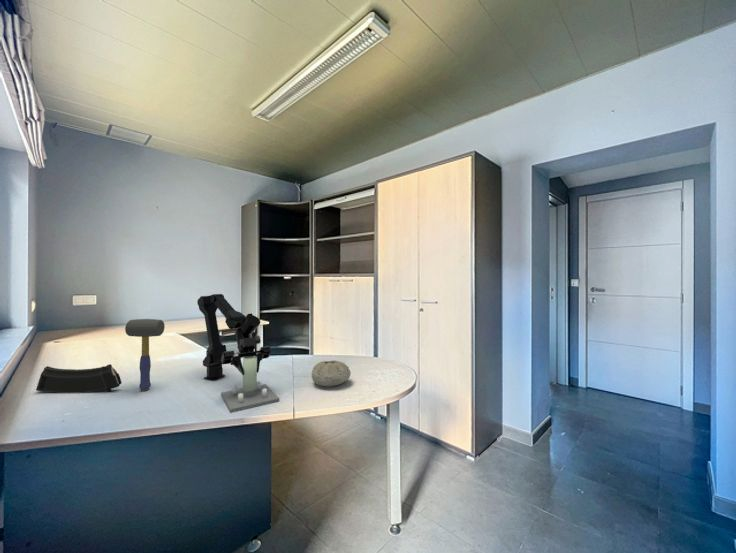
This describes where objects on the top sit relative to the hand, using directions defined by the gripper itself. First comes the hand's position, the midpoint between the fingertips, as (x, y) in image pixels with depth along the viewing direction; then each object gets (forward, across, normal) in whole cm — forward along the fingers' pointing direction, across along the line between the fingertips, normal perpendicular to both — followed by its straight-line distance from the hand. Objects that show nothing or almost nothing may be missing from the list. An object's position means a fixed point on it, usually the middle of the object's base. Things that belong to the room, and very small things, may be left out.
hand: (250, 373), depth 123 cm
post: (+4, 0, +6) cm, 7 cm away
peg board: (+6, 0, +8) cm, 10 cm away
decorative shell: (+9, +35, +6) cm, 37 cm away
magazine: (-24, -56, +40) cm, 73 cm away
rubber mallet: (-16, -34, +31) cm, 49 cm away
